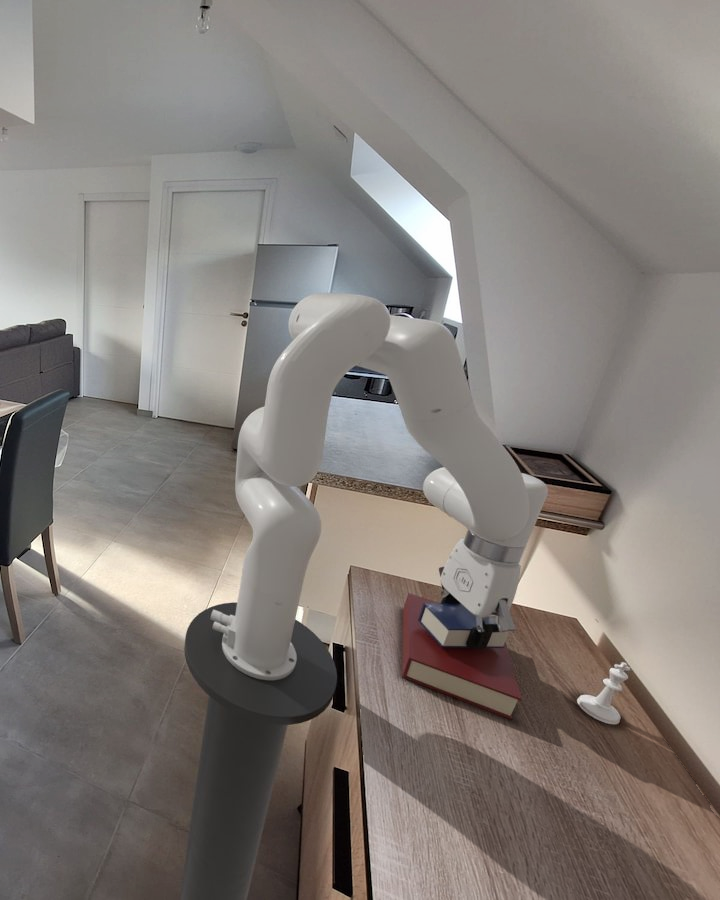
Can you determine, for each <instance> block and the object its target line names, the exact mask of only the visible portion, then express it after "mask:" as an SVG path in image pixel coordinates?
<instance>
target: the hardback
mask: <svg viewBox="0 0 720 900" xmlns="http://www.w3.org/2000/svg"><path fill="white" fill-rule="evenodd" d="M423 603H440V602H438V601H435V600H432V599H429V598H425V597H422V596H419V595H415V594H412V593H407V596H406V599H405V602H404V606H403V609H402V639H401V641H402V649H401V651H402V653H401V655H402V656H401V659H402V660H401V661H402V662H401V666H402V667H401V668H402V669H401V678H403V679H405V680H408V681H409V682H412V683H416V684H418V685H420V686H422V687H426V688H427V689H430V690H433V691H436V692H438V693H441V694H444V695H446V696H449V697H451V698H454V699H456V700H459V701H461V702H464V703H467V704H470V705H472V706H475V707H477V708H479V709H482V710H485V711H488V712H489V713H493V714H495V715H498V716H501V717H502V718H506V719H508V720H510V721H513V712H514V709H515V708H516V705H517V703H518V701H520V702H522V700H523V698H522V694H521V690H520V687H519V684H518V681H517V680H518V679H517V677H516V674H515V669H514V665H513V662H512V659H511V656H510V653H509V648H508V645H507V642H506V641H507V640H506V641H505V643H504V648H459V647H441V646H440V645H439V644H438V642H437V641H436V640H435V639H434V638H433V637H432V636H431V635H430V634H429V632H428V631H427V630H426V629H425V628H424V627H423V626H422V625H421V623H420V622H419V621H418V618H419V615H420V612H421V610H422V607H423Z"/></svg>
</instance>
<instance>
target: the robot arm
mask: <svg viewBox="0 0 720 900" xmlns="http://www.w3.org/2000/svg"><path fill="white" fill-rule="evenodd" d="M287 326H288V332H289V336H290V338H291V340H292V341H291V342H290V343H289V344H288V345H287V346H286V347H285V348H284V350H283V351H282V352H281V354H279V356H278V358H277V359H276V361H275V363H274V365H273V367H272V369H271V371H270V374H269V377H268V381H267V382H268V383H267V386H266V394H265V402H264V406H261V407H259V408H256V409H255V410H254V411H252V412H251V413H250V414H249V415H248V416H247V417H246V418H245V419H244V421H243V423H242V425H241V426H240V427H241V428H240V429H239V430H240V431H239V434H238V440H237V450H236V451H237V452H236V465H235V467H236V468H235V482H234V483H235V485H234V490H235V498H236V501H237V504H238V506H239V508H240V510H241V511H242V513H243V514H244V516H245V518H246V520H247V522H248V524H249V525H250V527H251V529H252V539H251V542H250V545H249V546H248V548H247V550H246V551H245V554H244V558H243V563H242V568H241V569H242V570H241V577H240V583H239V589H238V596H237V601H236V602H237V607H236V614H235V616H233V615H230V616H228V615H225V614H223V613H221V612H219V611H216V610H213V611H212V614H211V620H213V621H215V622H214V624H213V628H212V629H214V630H216V631H219V632H222V633H224V635H223V638H222V649H223V652H224V654H225V656H226V658H227V659H228V661H229V662H230V663H231V664H232V665H233V666H234V667H236V668H237V669H238V670H239V671H241V672H243V673H244V674H246V675H249V676H251V677H254V678H257V679H262V680H278V679H282V678H285V677H287V676H288V675H290V674H291V673H292V671H293V670H294V668H295V665H296V660H297V655H296V651H295V648H294V646H293V645H292V643H291V642H290V641H291V637H292V632H293V628H294V623H295V619H296V618H297V613H298V609H299V605H300V600H301V596H302V590H303V585H304V580H305V578H306V572H307V569H308V565H309V563H310V559H311V557H312V555H313V553H314V551H315V549H316V547H317V545H318V542H319V540H320V538H321V535H322V521H321V517H320V514H319V512H318V510H317V508H316V507H315V505H314V503H313V502H312V501H311V500H310V498H309V497H308V496H307V495H306V494H305V493H304V492H303V491H302V490H301V489H300V488H299V487H301V486H305V485H307V484H309V483H310V482H312V480H313V479H314V478H315V477H316V475H317V474H318V472H319V471H320V468H321V465H322V460H323V455H324V454H323V453H324V447H325V439H326V432H327V425H328V417H329V410H330V406H331V400H332V398H333V394H334V391H335V389H336V387H337V386H338V384H339V383H340V380H342V379H343V378H344V376H345V375H346V374H347V373H348V372H349V371H350V370H352V369H353V368H354V367H359V368H363V369H365V370H370V371H372V372H376V373H379V374H381V375H385V376H386V377H387V378H388V380H389V383H390V386H391V388H392V392H393V394H394V396H395V399H396V402H397V404H398V407H399V410H400V413H401V417H402V419H403V421H404V424H405V427H406V429H407V432H408V433H409V435H410V436H411V437H412V438H413V440H414V441H415V442H416V443H417V445H419V446H420V447H421V448H422V449H423V450H424V451H425V452H426V453H427V454H428V455H430V457H432V458H433V459H435V460H436V461H437V462H438V463H439V464H440V465H441V466H442V467H440V468H437V469H435V470H432V471H431V472H430V473H429V474H428V475H427V476H426V477H425V478H424V481H423V484H422V490H423V494H424V496H425V498H426V500H428V502H429V503H430V504H431V505H433V506H434V507H435V508H437V509H438V510H440V511H441V512H443V513H444V514H446V515H447V516H448V517H450V518H451V519H453V520H455V521H456V522H457V523H460V524H461V525H462V526H464V527H465V528H466V529H467V530H466V533H465V536H464V537H461V538H460V540H458V542H457V543H456V544H455V546H454V547H453V549H452V551H451V553H450V554H449V556H448V558H447V560H446V562H445V565H444V566H440V567H438V573H439V577H440V578H439V579H440V580H439V581H440V585H441V589H442V590H441V591H440V596H441V597H442V599H441V600H440V603H461V604H462V605H463V606H464V607H466V608H467V609H468V610H469V611H470V612H471V613H472V614H474V615H475V616H476V627H473V628H472V630H471V632H470V634H469V637H468V639H467V642H466V646H467V647H468V648H486V647H487V645H488V642H489V640H490V638H491V635H492V633H497V632H508V631H510V632H515V631H516V629H517V628H516V625H515V622H514V619H513V617H512V614H511V611H510V610H511V607H512V606H513V602H514V601H515V597H516V593H517V590H518V587H519V583H520V576H521V569H522V565H521V564H520V562H521V560H522V557H523V555H524V552H525V550H526V548H527V544H528V543H529V540H530V538H531V535H532V533H533V530H534V528H535V526H536V523H537V521H538V518H539V517H540V514H541V511H542V509H543V507H544V504H545V501H546V499H547V496H548V493H549V489H548V486H547V484H546V483H545V482H544V481H542V480H541V479H539V478H537V477H535V476H533V475H530V474H528V473H523V472H521V470H520V468H519V466H518V464H517V463H516V460H514V458H513V456H512V455H511V453H509V451H508V450H507V449H506V447H505V446H504V445H503V444H502V443H501V442H500V439H498V437H497V436H496V435H495V433H494V432H493V430H492V429H491V428H490V427H489V426H488V425H487V424H486V422H485V421H484V420H483V419H482V418H481V417H480V415H479V414H478V412H477V408H476V406H475V404H474V400H473V395H472V392H471V389H470V384H469V382H468V379H467V375H466V372H465V368H464V364H463V362H462V358H461V355H460V352H459V348H458V345H457V342H456V339H455V337H454V335H453V333H452V332H451V330H450V329H449V328H448V327H446V325H444V324H442V323H439V322H437V321H433V320H430V319H424V318H415V317H408V316H402V315H401V316H400V315H393V314H391V313H390V311H389V309H388V308H387V306H386V305H385V304H384V303H383V302H381V301H380V300H378V299H377V298H375V297H371V296H368V295H363V294H356V293H338V292H337V293H336V292H317V293H312V294H310V295H308V296H305V297H303V298H302V299H301V300H299V302H297V304H296V305H295V306H294V307H293V308H292V310H291V313H290V314H289V318H288V325H287ZM485 617H489V624H485ZM498 618H499V623H498ZM296 620H297V619H296ZM217 622H218V623H217ZM220 623H222V624H224V625H227V627H226V626H224V625H222V624H220Z"/></svg>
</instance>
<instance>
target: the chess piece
mask: <svg viewBox="0 0 720 900" xmlns="http://www.w3.org/2000/svg"><path fill="white" fill-rule="evenodd" d="M625 671H628V672H630V671H631V667H629V666H628V664H627V663H626V662H624V661H621V662H620V664H618V663H614V664H613V667H611V668H610V669H609V678H604V679H603V680H602V683H603V684H604V685H605V686H604V688H603V689H602V690H601V691H600V693H598V695H597V696H594V695H590V694H581V695H580V696H579V697H578V698H577V699H576V703H577V705H578V706H579V708H580V709H581V710H582V711H583V712H585V713H586V714H587V715H588V716H589V717H591V718H593V719H595V720H598V721H599V722H602V723H604V724H608V725H618V724H619V723H620V722H621V721H620V720H621V714H620V713H619V711H618V710H617V709H616V708H615V707H614V706H613V705H611V703H612V700H613V697H614V695H615V691H617V692H621V691H623V686H622V685H621V684H622V683H623V682H625V681H627V680H628V679H629V676H628V674H627V673H626V672H625Z"/></svg>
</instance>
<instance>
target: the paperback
mask: <svg viewBox="0 0 720 900" xmlns="http://www.w3.org/2000/svg"><path fill="white" fill-rule="evenodd" d="M418 621H419V622H420V623H421V625H422V626H423V627H424V628H425V629H426V630H427V631H428V632H429V634H430V635H431V636H432V637H433V638H434V639H435V640H436V641H437V642H438V644H439V645H440V646H441V647H459V648H468V647H467V646H466V642H467V639H468V637H469V634H470V632H471V630H472V628H473V627H476V616H475V615H474V614H472V613H471V612H470V611H469V610H468V609H467V608H466V607H464V606H463V605H462V604H461V603H441V602H439V603H423V607H422V610H421V612H420V615H419V618H418ZM498 623H499V618H498ZM485 624H489V617H485ZM510 632H511V631H508V632H497V633H492V635H491V638H490V640H489V642H488V645H487V647H486V648H504V643H505V641H507V639H508V636H509V634H510Z"/></svg>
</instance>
